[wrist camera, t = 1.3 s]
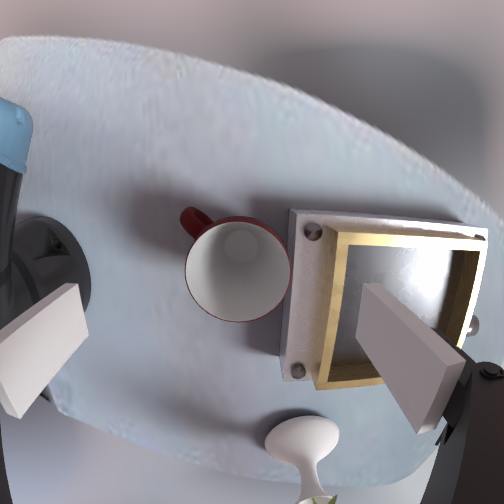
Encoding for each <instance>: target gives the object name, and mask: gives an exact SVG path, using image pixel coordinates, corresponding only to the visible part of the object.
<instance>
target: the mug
mask: <svg viewBox="0 0 504 504" xmlns="http://www.w3.org/2000/svg"><path fill="white" fill-rule="evenodd" d="M180 222H181V225H182V226H183V228H184V229H185V230H186V231H187V232H188V233H189V234H190V235H191V236H192V237H193V238H194V239H195V241H194V243H193V244H192V246H191V248H190V250H189V252H188V255H187V258H186V263H185V279H186V284H187V287H188V289H189V292H190V294H191V296H192V297H193V299H194V300H195V302H196V303H197V304H198V305H199V306H200V307H201V308H202V309H203V310H204V311H206V312H207V313H209V314H210V315H212V316H214V317H216V318H218V319H221V320H225V321H229V322H248V321H253V320H256V319H259V318H261V317H263V316H265V315H267V314H269V313H270V312H271V311H273V310H274V309H275V308H276V307H277V306H278V305H279V304H280V303H281V301H282V300H283V298H284V297H285V295H286V293H287V291H288V288H289V285H290V281H291V263H290V259H289V256H288V253H287V250H286V248H285V246H284V244H283V242H282V240H281V239H280V237H279V236H278V235H277V234H276V233H275V231H274V230H272V229H271V228H270V227H269V226H268V225H266V224H265V223H263V222H261V221H259V220H256V219H254V218H250V217H244V216H234V217H228V218H224V219H221V220H218V221H216V222H213V221H212V220H211V219H210V218H209V217H208V216H207V215H206V214H204V213H203V212H202V211H200V210H198V209H196V208H194V207H188V208H186V209H185V210H184V211H183V212H182V213H181V215H180Z"/></svg>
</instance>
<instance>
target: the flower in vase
mask: <svg viewBox="0 0 504 504" xmlns="http://www.w3.org/2000/svg"><path fill="white" fill-rule="evenodd" d="M338 438H339V429H338V427H337V425H336V424H335V423H334V422H332V421H330V420H328V419H326V418H324V417H320V416H300V417H296V418H292V419H289V420H286V421H284V422H282V423H280V424H279V425H277V426H276V427H275V428H273V429H272V430H271V432H270V433H269V434H268V435H267V437H266V439H265V448H266V450H267V452H268V453H269V455H270V456H271V457H272V458H274V459H276V460H278V461H280V462H282V463H285V464H288V465H293V466H296V467H297V468H298V469H299V471H300V475H301V495H300V498H299V500H298V501H297V503H296V504H335V502H336V499H337V495H336V496H334V497H333V498H332V497H331V496H329V495H328V494H326V493H325V491H324V490H323V489H322V487H321V485H320V482H319V480H318V476H317V471H316V464H317V462H318V461H319V460H321V459H322V458H324V457H325V456H326V455H328V454H329V453H330V452H331V451H332V449H333V448H334V447H335V446H336V444H337V442H338ZM337 494H338V493H337Z"/></svg>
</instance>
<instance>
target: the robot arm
mask: <svg viewBox="0 0 504 504" xmlns="http://www.w3.org/2000/svg"><path fill="white" fill-rule="evenodd" d="M32 133H33V121H32V118H31V115H30V114H29V112H28V111H27V110H26V109H24V108H23V107H21V106H19V105H17V104H15V103H12V102H10V101H8V100H6V99H3V98H1V97H0V402H1V404H2V406H3V407H4V409H5V411H6V413H8V414H10V415H12V416H14V417H16V418H19V419H20V418H21V417H22V416H23V414H24V413H25V412H26V411H27V409H28V408H29V406H30V405H31V404H32V403H33V401H34V400H35V399H36V398H37V396H38V395H39V394H40V393H41V391H42V390H43V389H44V388H45V386H46V385H47V384H48V383H49V381H50V380H51V379H52V378H53V376H54V375H55V374H56V373H57V372H58V370H59V369H60V368H61V367H62V366H63V364H64V363H65V362H66V361H67V360H68V359H69V357H70V356H71V355H72V354H73V353H74V351H75V350H76V349H77V348H78V347H79V346H80V345H81V343H82V342H83V341H84V340H85V339H86V338H87V337H88V335H89V333H88V329H87V325H86V321H85V316H84V312H85V310H86V308H87V306H88V303H89V299H90V294H91V279H90V272H89V267H88V264H87V260H86V258H85V255H84V253H83V251H82V249H81V247H80V245H79V243H78V242H77V240H76V239H75V237H74V236H73V235H72V233H71V232H70V231H69V230H68V229H67V228H66V227H65V226H63V225H62V224H61V223H59V222H58V221H56V220H54V219H51V218H47V217H36V218H32V219H28V220H25V221H23V222H21V223H19V224H18V225H16V226H15V219H16V211H17V204H18V198H19V192H20V187H21V181H22V176H23V174H25V173H26V170H27V166H26V160H27V155H28V150H29V145H30V141H31V137H32ZM355 338H356V339H357V341H358V342H359V344H360V345H361V347H362V348H363V350H364V351H365V353H366V354H367V356H368V357H369V359H370V360H371V362H372V364H373V365H374V367H375V368H376V370H377V371H378V373H379V374H380V376H381V378H382V379H383V381H384V382H385V384H386V385H387V387H388V389H389V390H390V392H391V393H392V395H393V396H394V398H395V400H396V401H397V403H398V404H399V406H400V408H401V409H402V411H403V413H404V414H405V416H406V417H407V419H408V421H409V422H410V424H411V426H412V427H413V429H414V431H415V432H416V434H417V435H418V434H421V433H424V432H427V431H430V430H433V429H436V427H437V425H438V423H439V421H440V419H441V417H442V415H443V417H444V418H445V420H446V421H447V424H446V426H445V428H444V430H443V431H442V433H441V435H440V437H439V438H438V440H437V442H436V444H435V445H437V446H438V444H439V442H440V441H441V442H440V446H439V449H438V453H437V456H436V460H435V463H434V466H433V469H432V472H431V476H430V479H429V481H428V484H427V487H426V490H425V492H424V495H423V498H422V500H421V503H420V504H504V370H503V369H502V368H501V367H500V366H498V365H496V364H494V363H491V362H479V363H476V362H475V361H474V360H472V359H471V358H470V357H469V356H468V355H467V354H466V353H465V352H464V351H463V350H462V349H460V348H459V347H458V346H456V344H455V343H454V342H453V341H450V339H449V338H448V337H447V336H446V335H445V334H444V333H442V332H440V331H438V330H436V329H434V328H432V327H431V328H430V327H429V326H428V325H427V324H426V323H424V322H423V321H422V320H421V319H420V318H419V317H418V316H417V315H415V314H414V313H413V312H412V311H411V310H410V309H408V308H407V307H406V306H405V305H404V304H403V303H402V302H400V301H399V300H398V299H397V298H396V297H394V296H393V295H392V294H391V293H390V292H389V291H387V290H386V289H385V288H384V287H383V286H381V285H380V284H379V283H363V288H362V296H361V303H360V310H359V317H358V323H357V330H356V335H355ZM0 504H13V503H12V499H11V494H10V490H9V485H8V480H7V475H6V469H5V463H4V456H3V448H2V438H1V427H0Z"/></svg>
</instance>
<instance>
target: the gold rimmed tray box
mask: <svg viewBox="0 0 504 504" xmlns="http://www.w3.org/2000/svg"><path fill="white" fill-rule="evenodd" d="M487 233H488V229H485V228H481V227H477V226H474V225H470V224H467V223H461V222H453V221H444V220H435V219H425V218H415V217H405V216H394V215H382V214H370V213H356V212H342V211H326V210H308V209H289V228H288V246H287V253H288V256H289V259H290V263H291V281H290V285H289V288H288V291H287V293H286V295H285V297H284V304H283V317H282V329H281V341H280V352H279V360H280V366H281V372H282V378H283V381H305V380H313V382H314V386H315V389H316V390H328V389H341V388H352V387H362V386H370V385H378V384H385V382H384V381H383V379H382V378H381V376H380V374H379V373H378V371H377V370H376V368H375V367H374V365H373V364H372V362H371V360H370V359H369V357H368V356H367V354H366V353H365V351H364V350H363V348H362V347H361V345H360V344H359V342H358V341H357V339H356V338H355V335H356V330H357V323H358V317H359V310H360V303H361V296H362V288H363V283H379V284H380V285H381V286H383V287H384V288H385V289H386V290H387V291H389V292H390V293H391V294H392V295H393V296H394V297H396V298H397V299H398V300H399V301H400V302H402V303H403V304H404V305H405V306H406V307H407V308H408V309H410V310H411V311H412V312H413V313H414V314H415V315H417V316H418V317H419V318H420V319H421V320H422V321H423V322H424V323H426V324H427V325H428V326H429V327H430V328H431V327H432V328H434V329H436V330H438V331H440V332H442V333H444V334H445V335H446V336H447V337H448V338H449V339H450V341H453V342H454V343H455V344H456V346H458V347H459V348H460V349H461V348H462V345H463V342H464V339H465V337H469V336H474V335H476V334H477V332H478V330H479V320H478V318H477V317H476V316H475V315H472V313H473V310H474V306H475V302H476V298H477V294H478V290H479V286H480V281H481V277H482V272H483V267H484V262H485V256H486V250H487V244H488V242H487V241H486V240H487Z"/></svg>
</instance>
